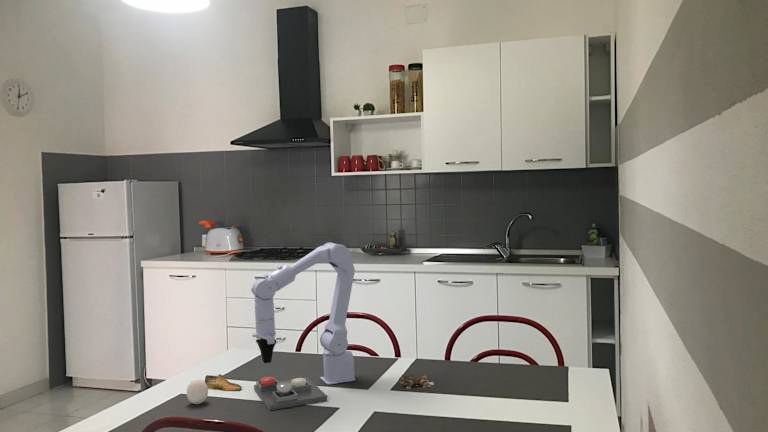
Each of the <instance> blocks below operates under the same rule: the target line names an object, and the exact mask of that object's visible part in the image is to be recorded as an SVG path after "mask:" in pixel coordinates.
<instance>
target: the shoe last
mask: <svg viewBox="0 0 768 432" xmlns="http://www.w3.org/2000/svg"><path fill="white" fill-rule="evenodd" d="M204 382H205V383H206V385H207V387H208V389H219V390H222V389H223V391H225V392H236V391H237V390H238V391H241V389H242V385H240V384H238V383H234V382H230V381H229V380H228V379H227V378H225V377H224V376H223V375H222V374H221V373H219V374H218V375H210V374H209V375H206V376H205V378H204Z"/></svg>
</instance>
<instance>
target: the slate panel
mask: <svg viewBox="0 0 768 432" xmlns="http://www.w3.org/2000/svg"><path fill="white" fill-rule="evenodd" d="M301 378H304V379H306V385H304V386H298V387H292V393H291V394H288V395H278V394H277V384H278V383H281V382H291V380H292V379H293V378H291V379H290V378H289V379H283V380H277V379H276V378H275V384H271V385H265V386H261V380H257V381H256V382H255V383H256V384H254V385H253V390H254V392H255V393H256V394H257V396H258V397H259V399H260V400H261V401H262V402H263V404H264V406H265V407H266V406H267V407H266V408H267V409H268V411H269V410H271V411H274V410H275V411H276V410H282V409H286V408H287V407H288V408H293V406H294V407H298V406H305V405H310V404H316V403H321V402H327V401H328V395H327V394H326V393H325V392H323V391H322V390H321V388H319V387H318V385H316V384H315V383H314V382H313V381H312V380H311V379H310V378H309V377H308V376H303V377H301ZM281 408H282V409H281Z"/></svg>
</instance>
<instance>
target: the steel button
mask: <svg viewBox="0 0 768 432" xmlns="http://www.w3.org/2000/svg"><path fill="white" fill-rule="evenodd" d="M291 393H292V383H291V382H281V383H278V384H277V394H278V395H288V394H291Z"/></svg>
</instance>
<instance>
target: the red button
mask: <svg viewBox="0 0 768 432" xmlns="http://www.w3.org/2000/svg"><path fill="white" fill-rule="evenodd" d="M275 379H276V378H275V377H274V376H265V377H261V378H260V381H261V386H265V385H271V384H275Z"/></svg>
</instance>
